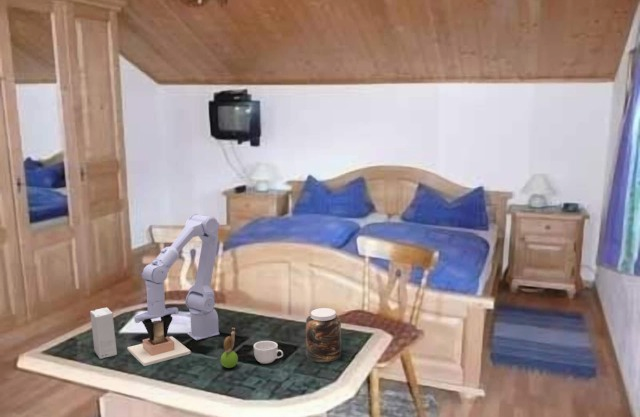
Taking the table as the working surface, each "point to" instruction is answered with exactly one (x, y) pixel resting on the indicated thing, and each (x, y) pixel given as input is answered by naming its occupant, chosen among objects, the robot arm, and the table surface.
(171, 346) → the socket board
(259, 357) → the teacup
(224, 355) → the snail figurine
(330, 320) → the jar
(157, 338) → the maple peg
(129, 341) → the table surface
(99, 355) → the skincare box
